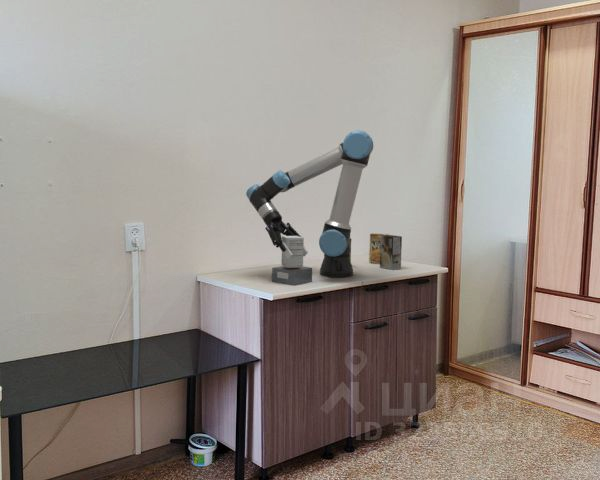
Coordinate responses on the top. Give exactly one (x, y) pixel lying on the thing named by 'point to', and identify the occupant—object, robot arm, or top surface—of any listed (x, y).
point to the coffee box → (390, 251)
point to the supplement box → (293, 251)
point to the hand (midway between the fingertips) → (298, 255)
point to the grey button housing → (291, 275)
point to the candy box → (375, 247)
